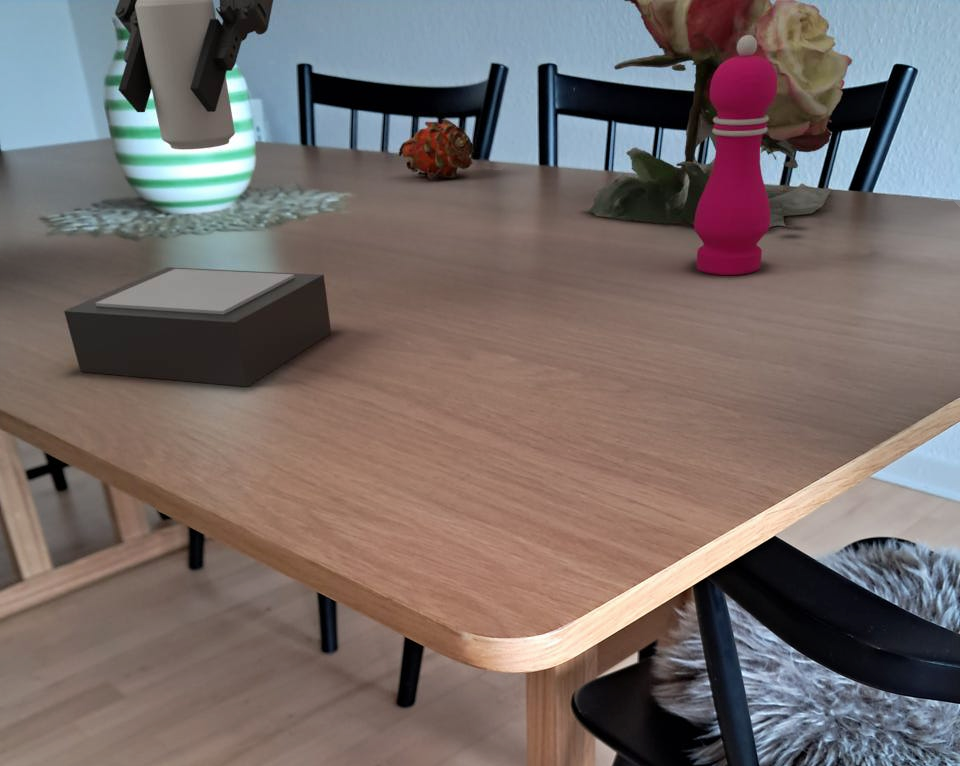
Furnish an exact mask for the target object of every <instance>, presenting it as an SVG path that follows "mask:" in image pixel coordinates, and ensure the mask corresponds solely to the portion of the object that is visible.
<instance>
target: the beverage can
mask: <svg viewBox="0 0 960 766" xmlns="http://www.w3.org/2000/svg"><path fill="white" fill-rule="evenodd" d="M135 9H136V14H137V19H138V24H139V29H140V34H141V39H142V44H143V49H144V54H145V59H146V63H147V68H148V73H149V78H150V83H151V88H152V89H151V92H152V98H153V102H154V109H155V112H156V117H157V122H158V123H157V124H158V127H159V133H160V137H161V140H162V141H163V142H165V143H167V144H168V145H169V146H170V148H171V149H173V150H202V149H210V148H216V147H221V146H225V145H228V144H230V140H231V139H232V138H233V137H234V136H235V135H236V130H235V125H234V119H233V112H232V106H231V100H230V94H229V93H230V92H229V89H228V88H229V87H228V81H227V77H226V76H225V79H224V83H223V86H222V90H221V93H220V97H219V100H218V104H217V107H216V111H215V112H207V110H206V109H205V108H204V106H203V105H202V104H201V102H200V101H199V100H198V98H197V97H196V96H195V94H194V93H193V92H192V90H191V89H190V87H191V84H192V80H193V77H194V73H195V70H196V67H197V63H198V60H199V56H200V53H201V49H202V46H203V43H204V39H205V36H206V32H207V29H208V25H209V22H210V19H217V16H216V8H215V3H214V0H137V2H136V5H135Z"/></svg>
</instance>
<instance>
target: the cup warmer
mask: <svg viewBox="0 0 960 766" xmlns="http://www.w3.org/2000/svg"><path fill="white" fill-rule="evenodd" d="M327 297H328V296H327V290H326V282H325V274H317V273H299V272H298V273H297V272H295V273H294V272H277V271H276V272H275V271H256V270H255V271H254V270H252V271H251V270H233V269H232V270H231V269H215V268H214V269H213V268H209V269H208V268H192V267H191V268H190V267H168V266H167V267H165V268H162V269H160V270H157V271H155V272H152V273H150V274H148V275H145V276H143V277H141V278H138V279H136V280H134V281H131V282H129V283H127V284H124V285H121V286H119V287H117V288H115V289H112V290H110V291H107V292H105V293H103V294H101V295H98V296H96V297H93V298H91V299H88V300H86V301H83V302H81V303H79V304H77V305H74V306H72V307H69V308H67V309H64V310H63V312H64V313H63V314H64V317H65V321H66V324H67V327H68V331H69V334H70V338H71V342H72V347H73V350H74V352H75V357H76V360H77V364H78V368H79V371H80V373H90V374H103V375H113V376H124V377H135V378H145V379H146V378H147V379H158V380H168V381H169V380H170V381H179V382H192V383H201V384H202V383H203V384H212V385H213V384H214V385H224V386H235V387H236V386H237V387H247V388H248V387H250V386H251V385H252V384H254V383H256V382H257V381H258V380H260V379H261V378H263V377H265V376H267V375H268V374H270V373H271V372H273V371H274V370H276V369H277V368H279V367H280V366H282V365H284V364H285V363H287V362H288V361H290V360H291V359H293V358H294V357H296V356H297V355H299V354H301V353H303V352H304V351H305V350H307V349H309V348H310V347H311V346H313V345H315V344H317V343H318V342H319V341H322V340H323V339H324V338H326V337H327V336H329V335H331V334H332V327H331V320H330V311H329V304H328V298H327Z"/></svg>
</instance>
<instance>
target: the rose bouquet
mask: <svg viewBox="0 0 960 766" xmlns="http://www.w3.org/2000/svg"><path fill="white" fill-rule="evenodd" d="M623 1H624V2H630V3H631V4H634V7H636V9H637V11H638V12H639V13H640V19H641V20H642V22H643V25H644V26H645V29H646V30H647V32H648V34H650V36H651V37H652V39H653V41H654V42H655V44H656V45H657V47H658V49H662V51H663V54H655V55H649V56H645V57H638V58H632V59H628V60H624V61H621V62H618V63H617V64H615V65H614V66H613V68H614V70H616V71H617V70H621V69H624V68H629V67H636V68H637V67H640V68H659V69H660V68H661V69H663V68H669V67H671V69H672V71H676V72H684V71H685V72H686V71H687V68H686V65H685V64H681V63H685V62H690V61H692V62H693V63H692V66H694V65H695V75H694V79H695V81H694V84H693V89H694V90H693V91H694V92H693V102H692V105H691V107H690V109H689V115H688V120H687V121H688V122H687V127H686V131H685V136H686V139H685V147H684V158H685V159H684V161H681V162H678V163H676V166H674V165H673V164H671V163H669V162H667V161H665V160H663V159H661V158H658V157H655V156H654V155H653V154H651V153H650V152H647V151H646V150H645V149H640V148H638V147H632V148H631V149H629V150H627V151H626V152H625V153H626V155H627V156H629V159H630V160H631V168H630V169H631V170H632V171H633V172H634V173H635V174H636V175H637V176H638V177H634V176H633V177H632V176H628V175H625V174H623V175H621V176H619V177H618V178H616V179H614V180H613V182H612V183H610V184H609V185H608V186H607V187H603V188H601V189H600V190H597V191H596V193H595V197H594V200H593V205H592V207H591V208H590V209H589V210H588V211H589V213H591V214H593V215H595V216H596V217H602V218H610V219H615V220H624V221H636V222H647V223H655V224H663V225H665V224H666V223H670V224H673V223H681V222H682V223H687V224H691V225H694V221H695V214H696V210H697V207H698V203H699V200H700V198H701V196H702V194H703V191H704V189H705V187H706V185H707V183H708V180H709V178H710V175H711V172H712V169H713V165H714V160H715V157H714V158H713V159H712V160H711V162H710V163H700V162H698V161H697V160H696V150H697V148H698V146H699V145H701V143H703V142H704V141H705V140H706V139H707V138H708V137H709V138H710V140H711V142H712V145H713V148H714V150H715V151H716V135H715V134H713V132H712V130H713V128H714V124H715V123H714V122H713V119H714V118H715V117H716V116H718V113H717V110H716V109H715V107H714V106H713V104H712V102H711V100H710V85H711V80H712V78H713V75H714V73H715V71H716V70H717V68H718V67H719V66H720V65H721V64H722V63H723V62H725V61H726V60H728V59H730V58H732V57H736V56H740V55H739V54H738V52H737V44H738V41H739V40H740V39H741V38H742V37H743V36H745V35H751V36H753V37H754V38H755V39H756V41H757V49H756V51H755V53H754V54H753V55H755V56H759V57H762V58H764V59H766V60H767V61H769V62H770V63H771V64H772V65H773V67H774V69H775V71H776V75H777V93H776V96H775V99H774V100H773V102H772V103H771V105H770V106H769V107H768V108H767V109H766V112H765V114H764V115H767V116H768V117H769V120H768V121H767V122H766V123H767V126H766V127H767V129H768V130H767V132H766V133H764V134H763V135H762V141H761V147H760V154H762V153H763V152H766V154H767V155H772V156H773V159H774V160H775V161H777V156H776V155H775V154H774V153H776V152H780V153H782V154H784V155H786V156H787V157H788V158H789V159H790V160H789V161H786V162H783V163H782V164H783V165H784V166H785V167H787V168H790V169H797V168H799V167H798V166H799V164H798V161H797V160H796V158H795V157H794V155H793V154H794V152H800V153H813V152H815V151H819V150H821V149H822V148H823V147H825V146H826V145H827V144H829V143H830V141H831V137H832V136H833V134H832V131H831V130H829V128H828V127H827V125H828V123H832V120H831V119H830V117H831V116H832V114H833V112H834V110H835V109H836V107H837V105H838V104H839V103H840V101H841V99H842V96H843V92H844V91H842V89H843V87H844V86H845V80H844V79H845V77H846V75H847V73H848V68H849V67H850V66H851V65H852V62H853V59H852V58H851V57H850V56H848V55H847V54H843V53H839V52H837V51H835V50H834V49H833V47H835V46H836V45H837V43H836V42H835V37H833V36H831V35H828V34H827V32H828V31H829V28H830V24H829V21H828V20H827V19H826V18H825V17H823V16H822V15H821V14H820V12H821V11H820V10H819V8H818V7H817V6H816V5H814V4H812V5H811V4H808V3H805V2H802V1H797V0H774V1H773V3H772V2H771V0H623ZM575 89H576V88H575V87H573V90H575ZM831 192H832V189H831V188H829V187H825V188H818V187H815V186H809V185H806V184H804V183H803V182H802V183H800V184H799V185H798V186H797V187H795V188H794V189H792V190H785V191H766V193H767V196H768V199H769V205H770V226H769V228H771V227H776V226H780V227H789V228H793V225H792V226H791V225H786V224H785V222H784V216H798V215H799V216H800V215H810V214H813V213H814V212H816V211H817V210H819V209H820V208H822V207H823V206H824V204H826V201H827V199H828V196H829V195H830V193H831ZM791 235H792V234H791Z"/></svg>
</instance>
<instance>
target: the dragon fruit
mask: <svg viewBox="0 0 960 766" xmlns="http://www.w3.org/2000/svg"><path fill="white" fill-rule="evenodd" d="M442 121H443V122H442V123H439V122H438V121H425V122H424V124H425V126H426V127H425V128H420V129H419V130H418V131H416V132H415V133H414V135H413V137H411V138H409V139H408V140H406V141H404V142H403V143H402V144H401V146H400V147H399V149H398V151H397V153H396V154H398V157H399V158H400V157H401V156H402V157H403V158H407V159H408V161H406V164H405V165H406V168H407V169H408V170H410V171H411V172H412V173H417V175H418V176H425V177H426V178H428V179H430V180H431V181H434V180H436V179H437V178H438V177H440V176H441V175H442V176H443V175H444V176H443V177H445V178H446V179H455V178H456V177H457V171H458V168H459V169H461V170H464V169H468V168H470V167H471V166H472V165H473V163H474V162H473V161H472V157H471V155H472V154H473V153H474V144H473V142H472V141H471V138H470V137H469V135H468V134H467V133H466V132H465V130H464V129H463V128H462V127H460V126H457V125H456V124H455V123H454V122H452V121H451V120H449V119H447V118H442Z"/></svg>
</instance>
